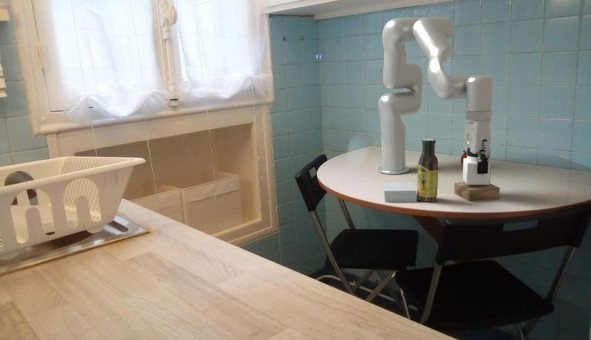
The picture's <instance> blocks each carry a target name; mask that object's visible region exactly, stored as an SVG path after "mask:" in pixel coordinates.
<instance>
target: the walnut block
mask: <svg viewBox="0 0 591 340" xmlns="http://www.w3.org/2000/svg"><path fill="white" fill-rule="evenodd" d="M500 188H501V187H499V186H497V185H494V184H493V183H490V184H489V185H467V184H466V183H465V181H462V182H454V191H453V192H454V194H455V195H457V196H458V197H460V198H461V199H463V200H465V199H466V201H467V200H468V201H467V202H469V201H470V202H471V201H473V202H479V201H480V202H481V200H482V201H489V200H490V199H492V200H500V192H501V191H500V190H501V189H500ZM470 202H469V203H470Z"/></svg>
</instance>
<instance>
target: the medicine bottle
mask: <svg viewBox="0 0 591 340" xmlns="http://www.w3.org/2000/svg"><path fill="white" fill-rule="evenodd" d="M481 151H484V150H480V152H481ZM466 152H467V158H464V160H463V165H462V180H463V182H465V183H466V184H467V185H489V184H491V169H492V168H491V167H492V163H491V162H490V160H489V161H488V173H487V174H477V162H478V161H479V159H478V154H477V153H476V154H474V153H472V152H470V148H469V147H468V148H467V150H466ZM482 155H483V154H481V157H482Z"/></svg>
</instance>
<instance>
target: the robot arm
mask: <svg viewBox="0 0 591 340" xmlns="http://www.w3.org/2000/svg"><path fill="white" fill-rule="evenodd" d="M454 33H455V27H454V23H453V21H452V20H451V19H450V18H448V17H446V16H425V17H424V16H423V17H397V18H396V17H395V18H392V19H390V20H388V21H387V22H386V23H385V25H384V27H383V29H382V34H381V35H382V36H381V37H382V47H383V73H382V81H383V82H382V83H383V85H384V87H385V88H386V89H389V90H401V89H403V90H404V91H396V92H393V91H392V92H388V93H387V92H386V93H384V94H383V95H381V96H380V97H379V99H378V101H377V102H378V103H377V108H378V113H379V119H380V120H379V121H380V143H381V144H380V146H381V147H380V148H381V149H380V150H381V156H380V158H381V165H380V166H378V168H377V172H378V173H379V174H385V175H401V174H407V173H409V172H410V167H409V166H406V126H405V123H404V121H403V120H402V118H401V117H404V116H411V115H415V114H417V113H418V112H420V110H421V107H422V100H423V86H424V85H423V84H424V75H423V71H422V68H421V67H420V66H419V64H418V63H417V64H416V63H411V62H410V63H407V56H408V55H407V54H408V53H407V49H406V47H405V46H404V43H405V42H406V43H407V42H409V43H410V42H417V43H418V44H419V46H420V48H421V49H422V52H423V53H424V54H425V57H427V59H428V64H427V68H426V69H427V71H426V72H427V80H428V82H429V84H430V86H431V88H432V89H433V91H434V92H435V94H436V95H437V97H438V98H439V99H442V100H445V101H449V100H450V101H451V100H462V99H466V101H465V124H464V126H465V127H464V136H463V148H464V149H465V150H464V151H465V152H466V155H467V148H468V147H469V148H470V152H472V153H474V154H476V153H477V154H478V159H479V161H478V162H477V174H487V173H488V161H489V162H490V157H491V153H492V150H491V137H492V136H491V123H490V122H491V121H492V110H493V88H494V87H493V86H494V81H493V78H492V77H491V76H490V75H474V74H456V75H448V73H447V72H446V70H445V69H444V68H443V65H442V64H443V63H445V62H446V61H447V60H448V59H450V57H451V56H452V55H453V52H454V47H453V45H452V44H451V42H450V41H449V40H450V39H452V37H453V36H454ZM480 150H484V151H481V152H480ZM481 154H483V155H482V157H481ZM466 158H467V156H466Z"/></svg>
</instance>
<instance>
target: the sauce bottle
mask: <svg viewBox="0 0 591 340" xmlns="http://www.w3.org/2000/svg"><path fill="white" fill-rule="evenodd" d="M421 145H422V151H421V154H420V157H419V160H418V162H417V188H416V191H417V200H419V201H421V202H428V203H429V202H430V203H431V202H435V201H437V199H438V188H439V187H438V185H439V184H438V183H439V182H438V181H439V161H438V156H436V153H435V152H436V151H435V149H436V139H435V138H431V137H426V138H422V139H421Z"/></svg>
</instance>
